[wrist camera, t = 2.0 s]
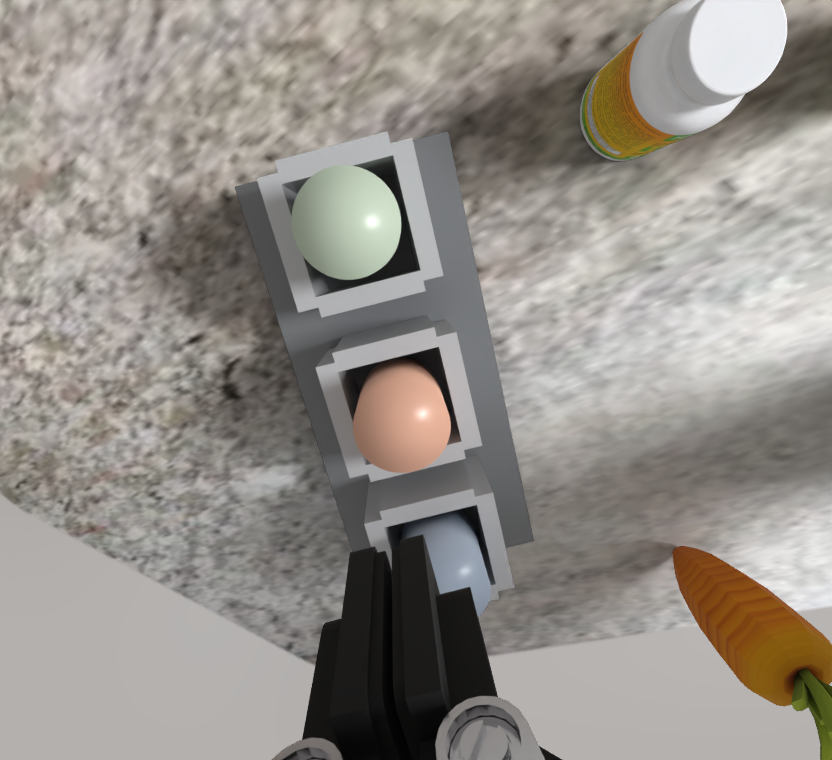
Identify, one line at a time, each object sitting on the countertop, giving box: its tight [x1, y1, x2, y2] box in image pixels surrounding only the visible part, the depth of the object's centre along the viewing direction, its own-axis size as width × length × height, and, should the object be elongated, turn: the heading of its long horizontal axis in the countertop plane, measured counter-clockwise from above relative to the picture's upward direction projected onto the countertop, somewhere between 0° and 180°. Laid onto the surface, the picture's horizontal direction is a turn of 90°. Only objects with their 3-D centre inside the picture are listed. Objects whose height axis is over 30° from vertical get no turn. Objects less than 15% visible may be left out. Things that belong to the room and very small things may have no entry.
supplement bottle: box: [580, 0, 787, 161], centre depth 23 cm, size 5×5×10 cm
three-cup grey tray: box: [235, 131, 534, 601], centre depth 28 cm, size 12×26×7 cm, turn 14°
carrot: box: [672, 546, 832, 760], centre depth 28 cm, size 5×5×15 cm
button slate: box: [401, 509, 491, 617], centre depth 26 cm, size 4×4×5 cm
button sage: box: [291, 165, 401, 280], centre depth 22 cm, size 4×4×5 cm
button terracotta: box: [353, 358, 451, 473], centre depth 24 cm, size 4×4×5 cm
